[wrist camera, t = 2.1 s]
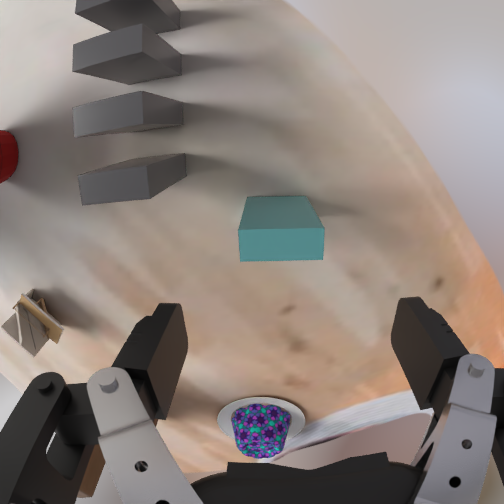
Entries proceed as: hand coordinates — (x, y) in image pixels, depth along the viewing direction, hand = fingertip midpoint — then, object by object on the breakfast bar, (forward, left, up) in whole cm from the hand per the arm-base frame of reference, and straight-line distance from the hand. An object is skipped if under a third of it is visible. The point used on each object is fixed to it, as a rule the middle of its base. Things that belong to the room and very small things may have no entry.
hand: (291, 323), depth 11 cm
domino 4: (-6, +9, -17) cm, 20 cm away
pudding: (-18, -23, -17) cm, 34 cm away
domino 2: (-1, +17, -17) cm, 24 cm away
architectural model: (-30, +7, -18) cm, 36 cm away
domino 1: (+1, +20, -17) cm, 26 cm away
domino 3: (-4, +13, -17) cm, 22 cm away
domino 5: (0, 0, -17) cm, 17 cm away
